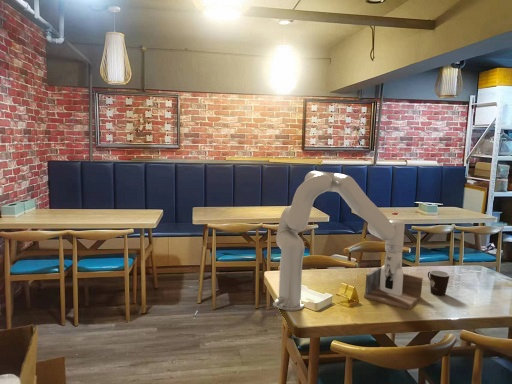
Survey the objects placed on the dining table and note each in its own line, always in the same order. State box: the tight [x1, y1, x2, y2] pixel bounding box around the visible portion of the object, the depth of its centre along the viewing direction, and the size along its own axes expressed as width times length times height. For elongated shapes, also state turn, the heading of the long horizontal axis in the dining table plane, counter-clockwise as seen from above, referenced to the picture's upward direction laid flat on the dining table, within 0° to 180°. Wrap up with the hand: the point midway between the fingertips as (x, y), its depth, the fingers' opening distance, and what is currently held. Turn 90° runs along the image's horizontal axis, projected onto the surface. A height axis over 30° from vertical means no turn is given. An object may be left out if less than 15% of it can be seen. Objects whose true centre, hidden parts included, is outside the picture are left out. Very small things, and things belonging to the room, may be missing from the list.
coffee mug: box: [427, 269, 451, 297], centre depth 192 cm, size 12×9×10 cm
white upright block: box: [380, 265, 404, 296], centre depth 181 cm, size 10×4×12 cm, turn 40°
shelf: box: [363, 267, 423, 311], centre depth 184 cm, size 18×20×10 cm
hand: (391, 286), depth 182 cm, fingers closed on white upright block, 4 cm apart
